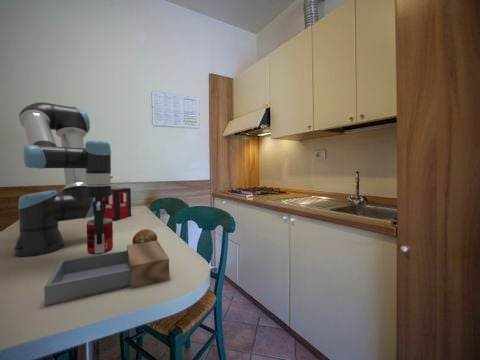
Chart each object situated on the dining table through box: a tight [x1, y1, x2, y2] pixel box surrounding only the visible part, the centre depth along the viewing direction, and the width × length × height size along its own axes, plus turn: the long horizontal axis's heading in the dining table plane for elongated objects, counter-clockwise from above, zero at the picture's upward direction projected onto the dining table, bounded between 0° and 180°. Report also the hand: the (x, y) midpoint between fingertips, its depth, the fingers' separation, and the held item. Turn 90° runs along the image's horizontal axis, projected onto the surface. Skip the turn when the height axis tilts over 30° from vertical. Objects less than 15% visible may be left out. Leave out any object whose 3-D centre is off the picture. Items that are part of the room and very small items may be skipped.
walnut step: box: [126, 240, 170, 289], centre depth 72 cm, size 10×20×6 cm, turn 29°
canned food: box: [86, 218, 114, 256], centre depth 81 cm, size 8×8×11 cm
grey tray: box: [43, 249, 131, 306], centre depth 65 cm, size 18×18×4 cm
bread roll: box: [132, 228, 158, 244], centre depth 100 cm, size 10×10×8 cm
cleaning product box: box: [103, 187, 132, 222], centre depth 154 cm, size 16×9×20 cm, turn 172°
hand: (100, 248), depth 82 cm, fingers closed on canned food, 8 cm apart
